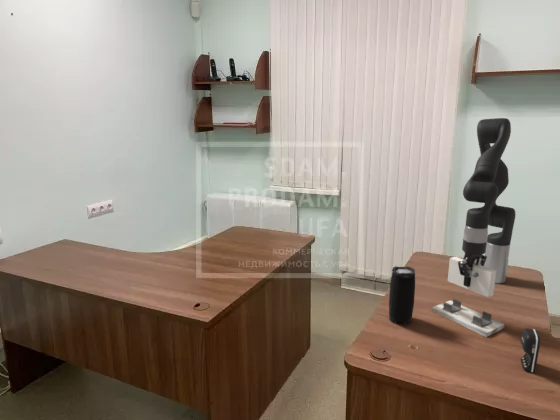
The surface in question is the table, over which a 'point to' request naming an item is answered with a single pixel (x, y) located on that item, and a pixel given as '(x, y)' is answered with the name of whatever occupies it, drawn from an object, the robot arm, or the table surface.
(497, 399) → the table surface
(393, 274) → the portable speaker
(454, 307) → the cabinet side
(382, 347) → the table surface
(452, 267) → the door
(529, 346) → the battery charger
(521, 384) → the table surface
